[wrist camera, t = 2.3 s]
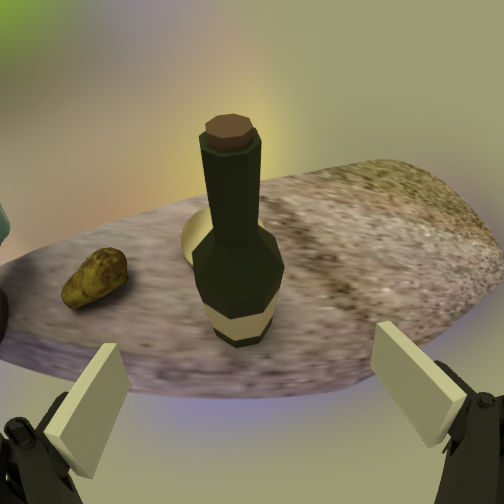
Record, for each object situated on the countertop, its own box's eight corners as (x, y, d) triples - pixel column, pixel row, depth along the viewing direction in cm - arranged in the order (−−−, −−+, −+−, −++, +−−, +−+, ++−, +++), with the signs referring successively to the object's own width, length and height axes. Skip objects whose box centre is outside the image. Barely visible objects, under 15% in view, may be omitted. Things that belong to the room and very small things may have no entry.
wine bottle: (201, 312, 39) (129, 124, 14) (248, 282, 42) (249, 82, 16) (233, 359, 35) (192, 210, 10) (283, 326, 38) (344, 140, 13)
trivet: (177, 278, 42) (172, 269, 39) (193, 213, 49) (190, 201, 46) (262, 286, 41) (262, 276, 39) (266, 217, 48) (267, 206, 46)
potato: (76, 270, 42) (53, 245, 35) (139, 263, 43) (122, 235, 36) (69, 314, 38) (42, 294, 31) (136, 311, 39) (115, 289, 32)
